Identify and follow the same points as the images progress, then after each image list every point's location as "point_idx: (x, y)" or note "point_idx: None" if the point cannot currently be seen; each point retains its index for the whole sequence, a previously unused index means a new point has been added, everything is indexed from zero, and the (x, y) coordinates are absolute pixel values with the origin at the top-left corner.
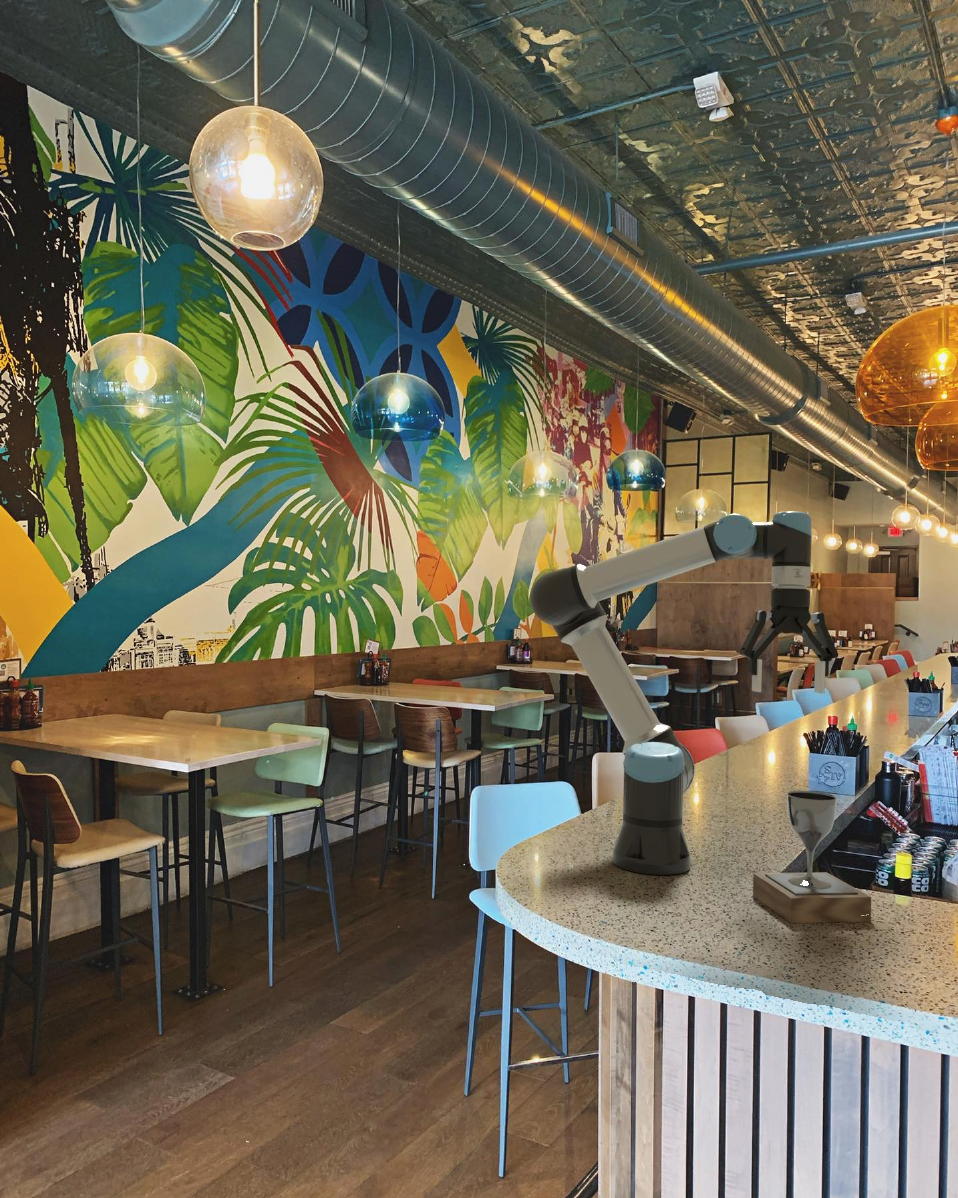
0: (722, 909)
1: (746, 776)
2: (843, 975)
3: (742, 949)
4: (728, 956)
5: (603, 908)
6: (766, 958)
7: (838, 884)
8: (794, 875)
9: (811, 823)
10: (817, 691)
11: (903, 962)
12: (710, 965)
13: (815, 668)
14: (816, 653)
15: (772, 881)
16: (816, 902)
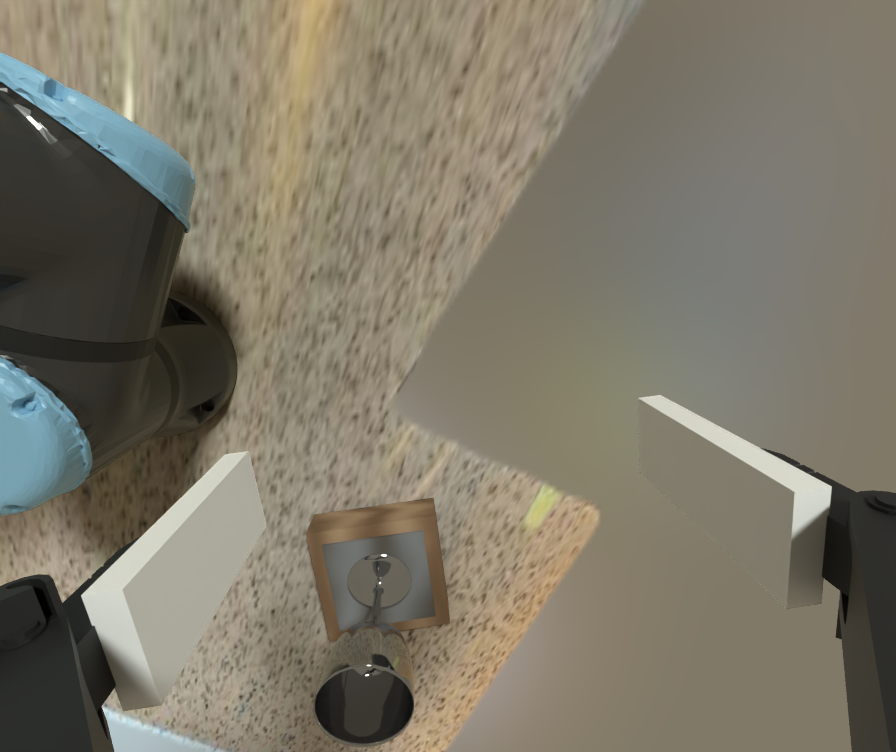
0: (252, 575)
1: None
2: (341, 747)
3: (248, 698)
4: (227, 718)
5: (75, 589)
6: (270, 718)
7: (422, 584)
8: (369, 548)
9: (356, 697)
10: (642, 434)
11: (424, 710)
12: (201, 741)
13: (736, 469)
14: (853, 581)
15: (325, 572)
16: None
